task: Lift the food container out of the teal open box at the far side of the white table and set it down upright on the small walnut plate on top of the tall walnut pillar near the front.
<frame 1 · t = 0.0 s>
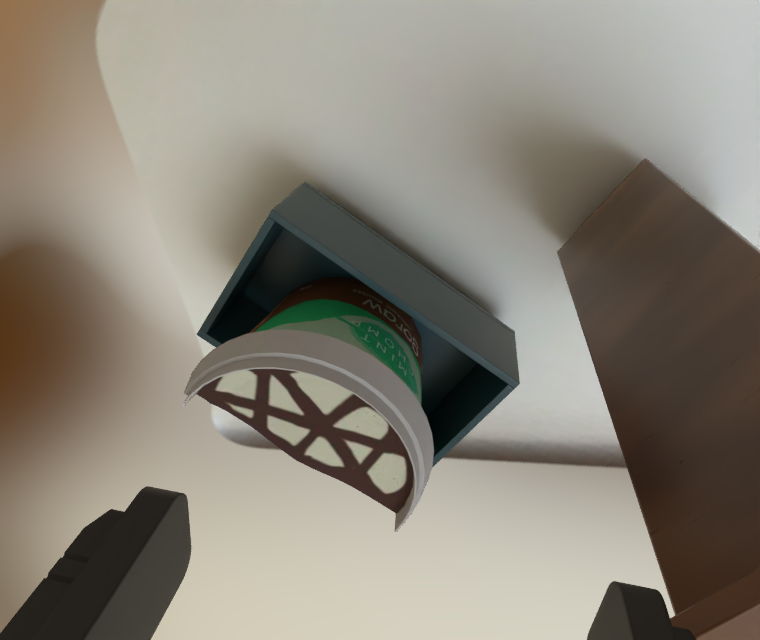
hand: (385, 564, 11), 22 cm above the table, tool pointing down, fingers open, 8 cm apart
food container: (370, 314, 33), resting on teal open box
pillar: (643, 241, 29), on the table
teal open box: (371, 311, 33), on the table
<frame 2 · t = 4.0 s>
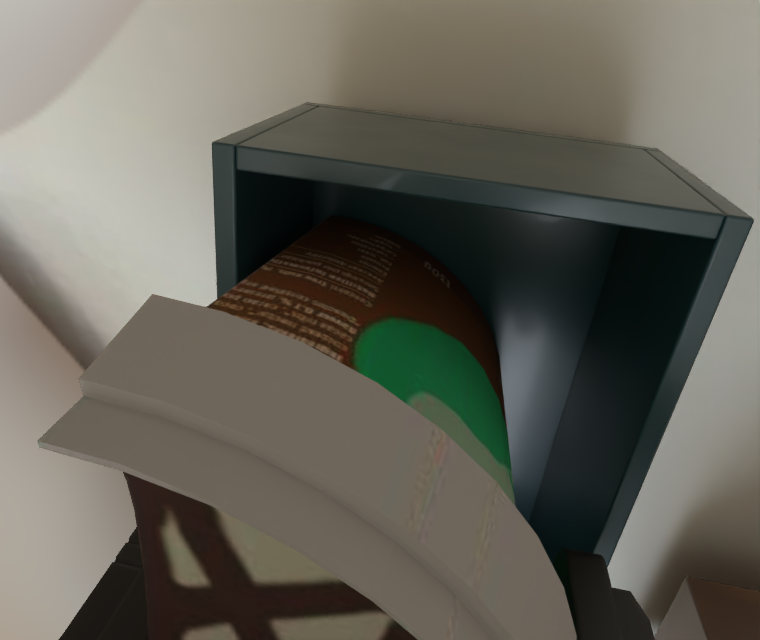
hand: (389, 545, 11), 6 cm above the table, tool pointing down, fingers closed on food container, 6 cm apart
food container: (431, 385, 16), resting on teal open box, touching gripper
teal open box: (433, 377, 17), on the table
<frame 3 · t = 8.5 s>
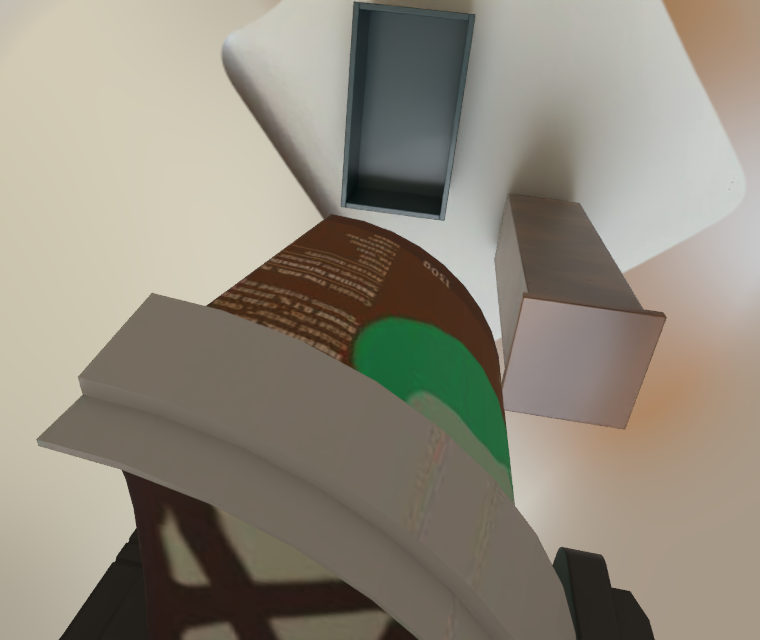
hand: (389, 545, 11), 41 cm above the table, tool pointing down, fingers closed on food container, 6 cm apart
food container: (431, 385, 16), point 35 cm above the table, touching gripper
pillar: (535, 232, 49), on the table
teal open box: (409, 109, 46), on the table
plate: (574, 360, 31), resting on pillar
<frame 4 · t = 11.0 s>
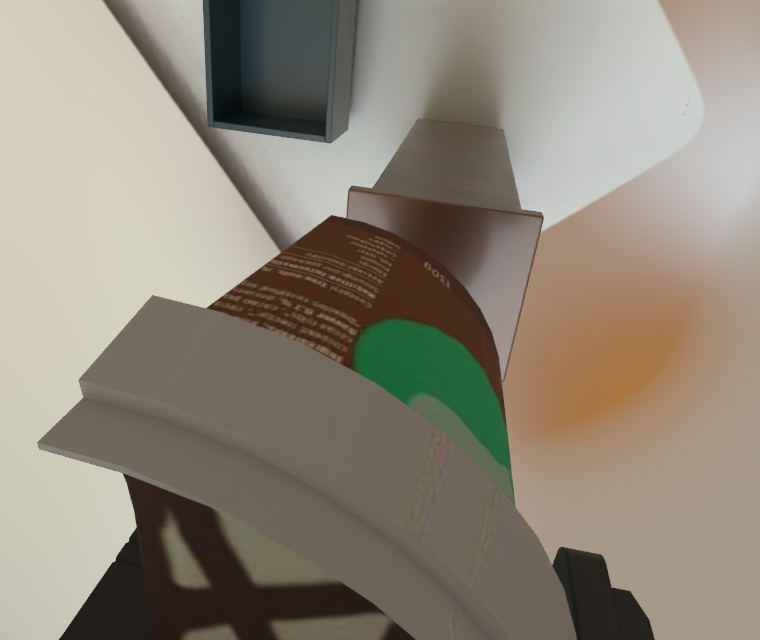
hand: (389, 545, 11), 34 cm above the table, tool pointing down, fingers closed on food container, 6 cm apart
food container: (431, 386, 16), point 28 cm above the table, touching gripper
pillar: (453, 167, 41), on the table
teal open box: (295, 12, 38), on the table
plate: (431, 285, 23), resting on pillar
when the fingers open (28 cm above the table, at t = 13.1 s): food container stays where it is, resting on plate.
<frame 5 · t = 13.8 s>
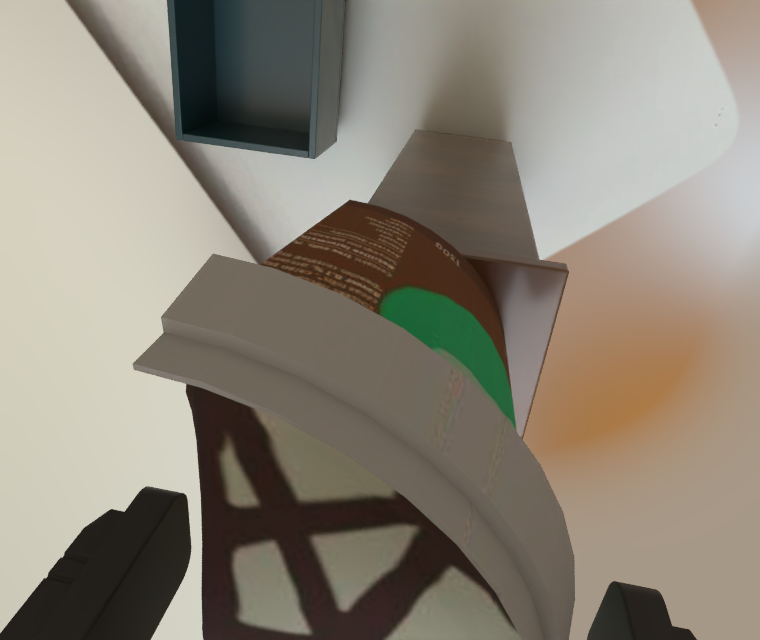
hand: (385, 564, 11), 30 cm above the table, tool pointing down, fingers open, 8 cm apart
food container: (440, 361, 17), point 22 cm above the table, touching plate
pillar: (455, 183, 37), on the table
teal open box: (276, 9, 34), on the table
plate: (426, 348, 18), resting on pillar
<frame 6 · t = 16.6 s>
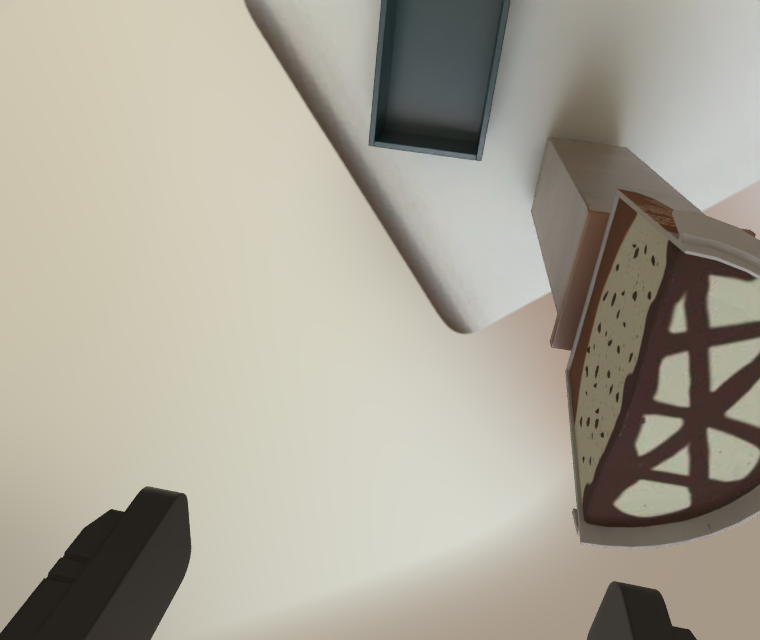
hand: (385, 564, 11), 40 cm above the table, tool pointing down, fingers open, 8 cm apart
food container: (657, 296, 26), point 22 cm above the table, touching plate
pillar: (577, 180, 46), on the table
teal open box: (443, 42, 43), on the table
plate: (642, 289, 27), resting on pillar
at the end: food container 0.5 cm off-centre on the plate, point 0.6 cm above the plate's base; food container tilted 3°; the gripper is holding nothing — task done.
